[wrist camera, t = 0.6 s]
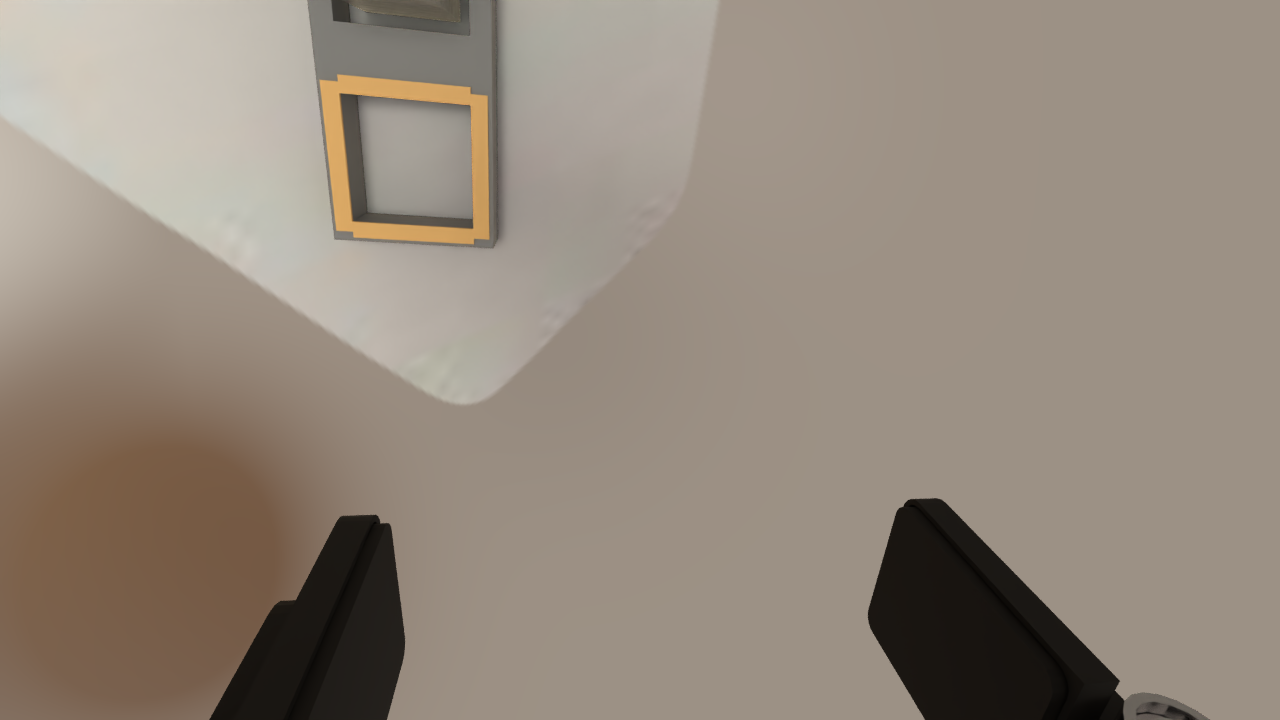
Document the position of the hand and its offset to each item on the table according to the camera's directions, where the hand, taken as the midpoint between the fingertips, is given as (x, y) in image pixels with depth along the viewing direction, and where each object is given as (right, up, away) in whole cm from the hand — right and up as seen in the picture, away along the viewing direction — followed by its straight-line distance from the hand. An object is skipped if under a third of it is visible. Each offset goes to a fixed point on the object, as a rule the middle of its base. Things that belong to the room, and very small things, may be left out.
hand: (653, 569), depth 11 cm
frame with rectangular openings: (-12, +19, +19) cm, 29 cm away
